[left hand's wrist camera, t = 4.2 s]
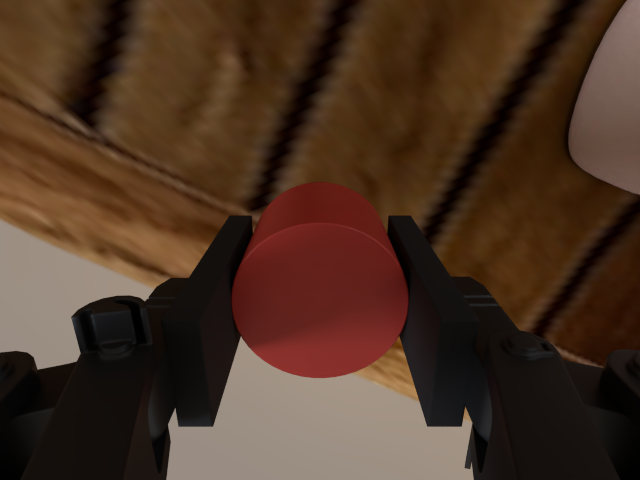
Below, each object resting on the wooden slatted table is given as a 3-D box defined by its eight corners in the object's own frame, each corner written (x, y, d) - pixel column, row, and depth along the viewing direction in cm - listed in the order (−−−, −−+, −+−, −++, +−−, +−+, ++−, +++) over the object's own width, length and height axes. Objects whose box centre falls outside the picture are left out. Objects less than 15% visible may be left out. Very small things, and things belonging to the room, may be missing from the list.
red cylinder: (233, 271, 15) (203, 339, 11) (289, 157, 13) (276, 189, 10) (346, 322, 16) (354, 401, 12) (410, 219, 14) (444, 272, 10)
